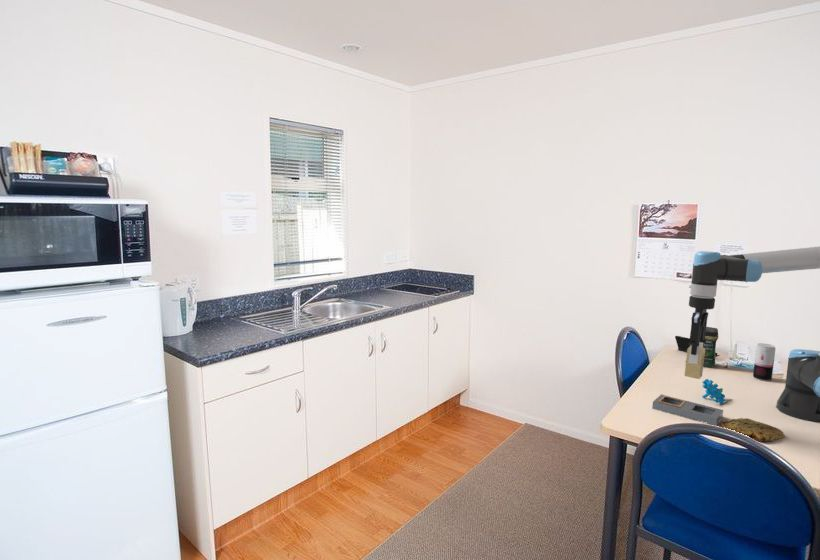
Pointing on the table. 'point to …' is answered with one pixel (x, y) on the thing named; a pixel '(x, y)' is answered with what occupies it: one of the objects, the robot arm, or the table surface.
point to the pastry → (754, 429)
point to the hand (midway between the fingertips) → (694, 361)
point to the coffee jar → (710, 346)
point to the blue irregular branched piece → (713, 391)
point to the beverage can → (764, 362)
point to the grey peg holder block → (688, 409)
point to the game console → (683, 343)
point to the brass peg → (695, 365)
